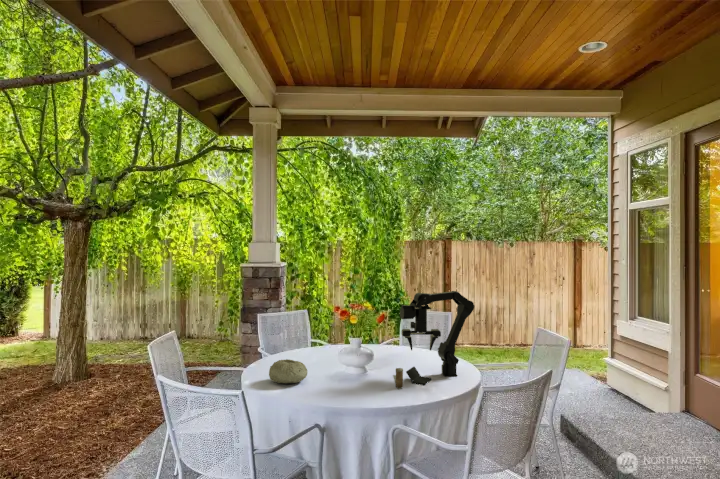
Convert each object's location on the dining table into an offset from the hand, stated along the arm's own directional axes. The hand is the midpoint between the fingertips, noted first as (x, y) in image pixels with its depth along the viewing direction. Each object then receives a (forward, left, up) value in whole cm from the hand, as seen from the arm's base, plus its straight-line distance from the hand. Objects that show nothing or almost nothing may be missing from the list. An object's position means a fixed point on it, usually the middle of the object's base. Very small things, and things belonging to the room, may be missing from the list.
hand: (420, 350), depth 223 cm
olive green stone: (+64, +9, -13) cm, 66 cm away
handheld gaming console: (+2, +7, -14) cm, 15 cm away
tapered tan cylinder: (+12, +17, -13) cm, 25 cm away
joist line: (+12, +9, -13) cm, 20 cm away
